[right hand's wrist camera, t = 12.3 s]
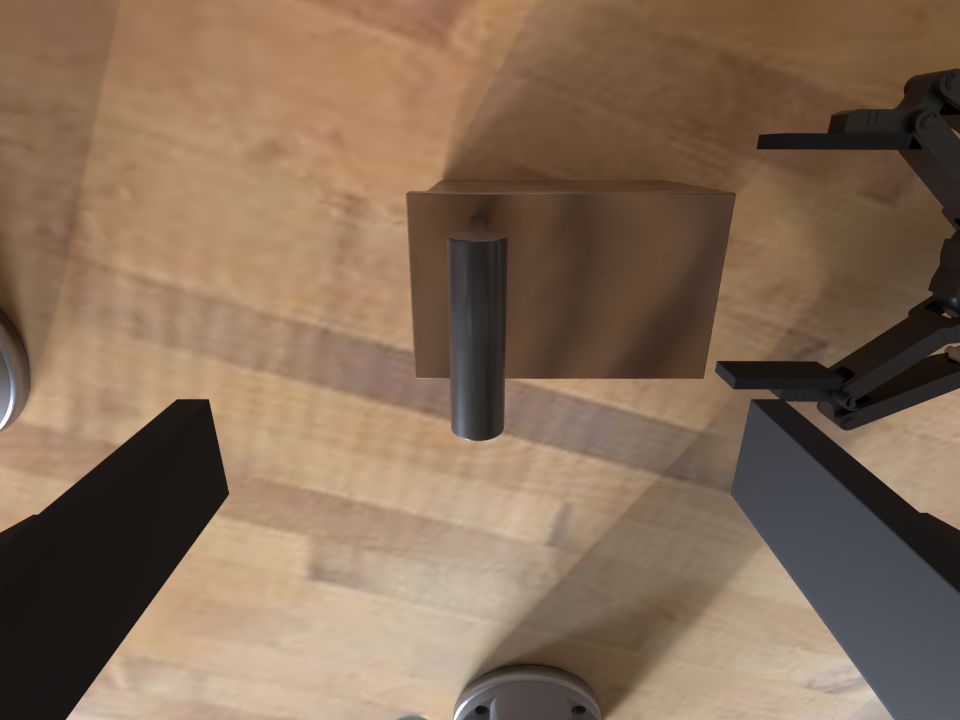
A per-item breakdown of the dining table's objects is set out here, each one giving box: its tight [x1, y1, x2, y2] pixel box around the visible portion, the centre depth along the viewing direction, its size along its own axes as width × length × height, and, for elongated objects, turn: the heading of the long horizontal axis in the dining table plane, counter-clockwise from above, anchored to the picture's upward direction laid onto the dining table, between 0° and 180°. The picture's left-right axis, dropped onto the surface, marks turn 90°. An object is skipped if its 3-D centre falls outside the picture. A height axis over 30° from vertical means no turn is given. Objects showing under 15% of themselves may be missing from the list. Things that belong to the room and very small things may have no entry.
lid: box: [406, 191, 736, 441], centre depth 24 cm, size 16×10×9 cm, turn 90°
